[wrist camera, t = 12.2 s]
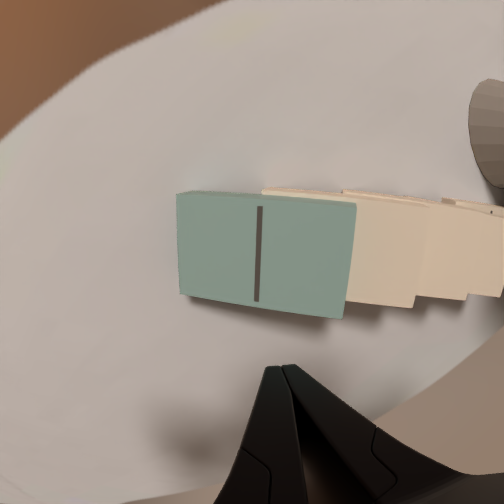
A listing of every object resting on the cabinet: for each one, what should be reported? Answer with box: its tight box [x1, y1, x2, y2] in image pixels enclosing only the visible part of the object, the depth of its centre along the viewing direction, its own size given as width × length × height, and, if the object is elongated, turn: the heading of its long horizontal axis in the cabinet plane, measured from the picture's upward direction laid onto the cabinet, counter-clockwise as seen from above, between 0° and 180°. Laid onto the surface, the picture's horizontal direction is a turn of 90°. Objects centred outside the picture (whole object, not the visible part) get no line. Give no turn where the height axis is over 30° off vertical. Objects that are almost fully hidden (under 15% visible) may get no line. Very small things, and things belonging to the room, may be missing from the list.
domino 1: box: [176, 191, 357, 319], centre depth 15 cm, size 2×5×8 cm
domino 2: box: [261, 187, 431, 308], centre depth 15 cm, size 2×5×8 cm
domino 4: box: [403, 196, 504, 297], centre depth 16 cm, size 2×5×8 cm
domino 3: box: [343, 189, 484, 301], centre depth 16 cm, size 2×5×8 cm
